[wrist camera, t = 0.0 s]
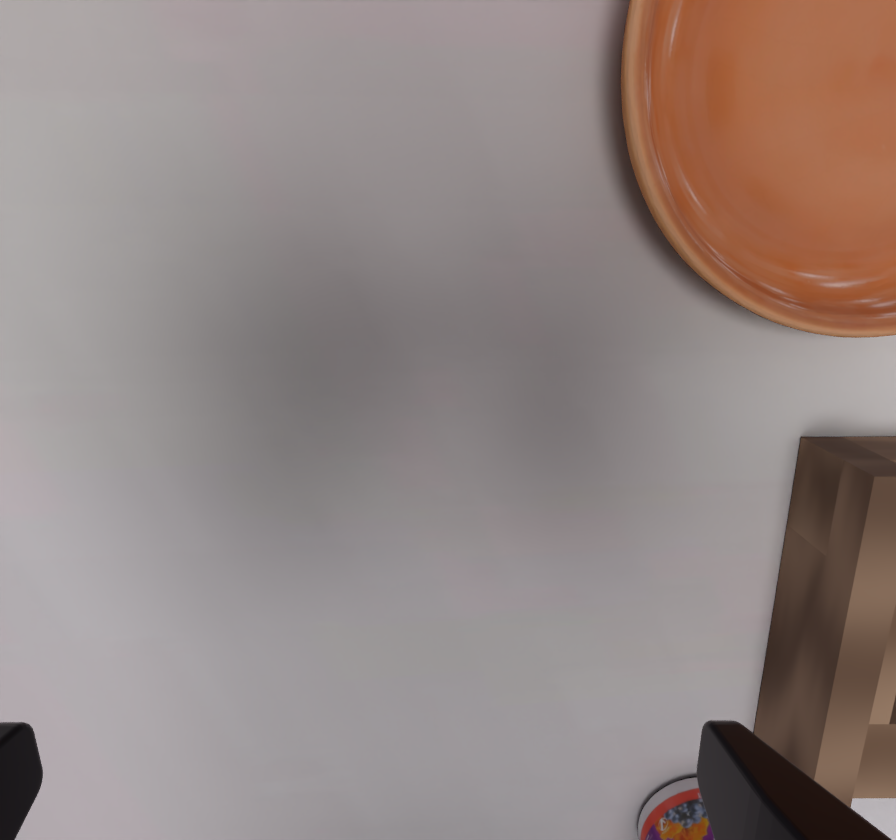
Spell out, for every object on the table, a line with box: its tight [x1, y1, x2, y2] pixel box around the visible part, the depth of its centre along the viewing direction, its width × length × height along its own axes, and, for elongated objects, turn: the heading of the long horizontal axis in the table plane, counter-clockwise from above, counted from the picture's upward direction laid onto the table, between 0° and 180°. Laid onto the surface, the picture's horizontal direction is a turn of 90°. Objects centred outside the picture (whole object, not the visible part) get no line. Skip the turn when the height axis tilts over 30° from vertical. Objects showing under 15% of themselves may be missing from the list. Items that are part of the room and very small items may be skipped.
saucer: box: [621, 0, 896, 337], centre depth 18 cm, size 16×16×3 cm
